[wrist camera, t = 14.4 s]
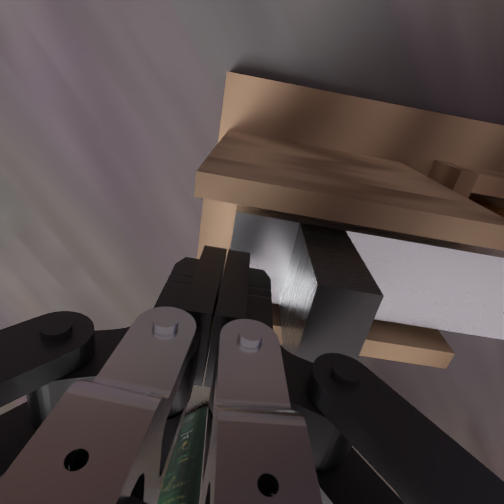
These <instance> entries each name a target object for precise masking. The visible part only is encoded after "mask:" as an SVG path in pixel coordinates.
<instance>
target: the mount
mask: <svg viewBox="0 0 504 504" xmlns="http://www.w3.org/2000/svg"><path fill="white" fill-rule="evenodd" d="M469 196H478V197H481V198H484V199H486V200H488V201H490V202H492V203H494V204H496V205H498V206H500V207H502V208H504V125H499V124H494V123H488V122H483V121H478V120H473V119H468V118H463V117H458V116H453V115H447V114H442V113H437V112H432V111H427V110H422V109H417V108H412V107H407V106H401V105H396V104H391V103H386V102H381V101H376V100H371V99H366V98H360V97H355V96H350V95H345V94H340V93H335V92H330V91H325V90H320V89H314V88H309V87H304V86H299V85H294V84H289V83H284V82H279V81H274V80H268V79H263V78H258V77H253V76H248V75H243V74H238V73H233V72H227V75H226V83H225V91H224V99H223V108H222V116H221V124H220V132H219V140H218V144H217V145H216V147H215V148H214V149H213V150H212V152H211V153H210V154H209V156H208V157H207V158H206V160H205V161H204V162H203V163H202V165H201V166H200V167H199V169H198V170H197V171H196V181H195V191H194V197H199V198H204V199H203V208H202V216H201V225H200V234H199V243H198V252H197V259H200V256H201V254H202V251H203V248H204V246H205V245H207V246H213V247H219V248H225V249H227V252H226V259H227V255H228V250H229V249H230V247H231V240H232V234H233V228H234V222H235V216H236V210H237V205H238V204H239V205H244V206H250V207H256V208H262V209H267V210H273V211H279V212H285V213H290V214H296V215H302V216H308V217H313V218H319V219H325V220H331V221H336V222H342V223H348V224H354V225H359V226H365V227H371V228H377V229H382V230H388V231H394V232H399V233H405V234H411V235H417V236H422V237H428V238H434V239H440V240H445V241H451V242H457V243H463V244H468V245H474V246H480V247H486V248H491V249H497V250H503V251H504V218H503V217H502V216H500V215H498V214H496V213H494V212H492V211H490V210H488V209H487V208H485V207H483V206H481V205H479V204H477V203H475V202H474V201H472V200H470V199H468V198H469ZM226 259H225V264H226ZM224 269H225V265H224ZM223 274H224V272H223ZM272 316H273V330H274V332H275V333H276V334H277V336H278V338H279V342H280V343H281V344H283V343H282V331H281V319H280V307H279V304H276V303H272ZM454 354H455V353H454V351H453V350H452V349H451V347H450V346H449V345H448V343H447V342H446V341H445V339H444V338H443V336H442V335H441V334H440V332H439V331H438V330H437V329H433V328H427V327H420V326H414V325H408V324H401V323H395V322H389V321H383V320H376V319H374V320H373V323H372V325H371V328H370V330H369V332H368V335H367V337H366V340H365V342H364V344H363V347H362V349H361V352H360V354H359V355H360V356H366V357H373V358H379V359H386V360H392V361H399V362H405V363H412V364H419V365H425V366H432V367H438V368H445V369H446V368H447V366H448V365H449V363H450V361H451V359H452V358H453V356H454Z"/></svg>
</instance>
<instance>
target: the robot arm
mask: <svg viewBox="0 0 504 504" xmlns="http://www.w3.org/2000/svg"><path fill="white" fill-rule="evenodd" d="M226 252H227V249H225V248H219V247H213V246H207V245H205V246H204V248H203V251H202V254H201V256H200V259H194V258H188V257H185V258H184V259H182V260H181V261H179V262H177V263H176V264H175V266H174V268H173V270H172V272H171V275H170V276H169V278H168V280H167V282H166V284H165V286H164V288H163V290H162V292H161V294H160V296H159V298H158V300H157V302H156V304H155V306H154V308H152V309H149V310H147V311H145V312H143V313H141V314H140V315H139V316H138V317H137V318H136V319H135V321H134V322H133V324H132V325H131V327H127V328H122V329H113V330H99V331H94V324H93V322H92V321H91V319H90V318H88V317H87V316H85V315H83V314H80V313H77V312H70V311H60V312H53V313H48V314H45V315H41V316H39V317H36V318H33V319H30V320H27V321H24V322H22V323H19V324H16V325H13V326H10V327H7V328H4V329H2V330H0V407H2V406H4V405H6V404H8V403H10V402H12V401H14V400H16V399H18V398H20V397H22V396H24V395H26V398H27V402H25V403H23V404H21V405H19V406H17V407H15V408H14V409H12V410H10V411H8V412H6V413H4V414H2V415H0V504H157V503H158V498H159V494H160V490H161V487H162V484H163V480H164V477H165V474H166V471H167V468H168V465H169V462H170V459H171V456H172V453H173V450H174V447H175V444H176V441H177V438H178V434H179V431H180V428H181V425H182V422H183V419H184V416H185V413H186V407H187V404H188V402H189V400H190V396H191V392H192V388H193V385H199V386H202V382H203V377H204V372H205V367H206V362H207V357H208V352H209V357H208V364H207V371H206V377H205V384H204V386H207V387H211V392H210V398H209V404H208V410H207V416H206V428H205V440H204V452H203V464H202V476H201V487H200V498H199V504H504V482H503V481H502V480H501V479H500V478H499V477H497V476H496V475H495V474H494V473H493V472H491V471H490V470H489V469H488V468H487V467H485V466H484V465H483V464H482V463H481V462H479V461H478V460H477V459H476V458H475V457H473V456H472V455H471V454H470V453H469V452H467V451H466V450H465V449H464V448H463V447H461V446H460V445H459V444H458V443H457V442H455V441H454V440H453V439H452V438H451V437H449V436H448V435H447V434H446V433H445V432H443V431H442V430H441V429H440V428H439V427H437V426H436V425H435V424H434V423H433V422H431V421H430V420H429V419H428V418H427V417H425V416H424V415H423V414H422V413H421V412H419V411H418V410H417V409H416V408H415V407H413V406H412V405H411V404H410V403H409V402H407V401H406V400H405V399H404V398H403V397H401V396H400V395H399V394H398V393H397V392H395V391H394V390H393V389H392V388H391V387H389V386H388V385H387V384H386V383H385V382H383V381H382V380H381V379H380V378H379V377H377V376H376V375H375V374H374V373H373V372H371V371H370V370H369V369H368V368H367V367H365V366H364V365H363V364H362V363H360V362H359V361H357V360H355V359H354V358H351V357H349V356H347V355H343V354H339V353H326V354H322V355H320V356H319V357H317V358H316V359H315V361H314V363H312V362H310V361H307V360H305V359H302V358H300V357H298V356H295V355H293V354H292V353H290V352H288V351H287V350H286V349H284V348H283V347H282V346H281V345H280V342H279V338H278V336H277V334H276V333H275V332H274V330H273V316H272V299H271V298H272V294H271V279H270V277H269V276H268V275H267V273H266V272H265V270H262V269H256V268H250V253H249V252H243V251H237V250H231V249H229V250H228V255H227V259H226ZM225 259H226V264H225ZM224 265H225V269H224ZM223 272H224V274H223ZM210 343H211V344H210ZM209 347H210V351H209ZM352 445H353V446H354V447H355V448H356V449H357V450H358V451H359V453H360V454H361V455H362V456H363V457H364V458H365V459H366V460H367V461H368V462H369V463H370V464H371V465H372V466H373V467H374V468H375V470H376V471H377V472H378V473H379V474H380V475H381V476H382V477H383V478H384V479H385V480H386V481H387V482H388V483H389V484H390V485H391V487H392V488H393V489H394V490H395V491H396V492H397V494H398V495H399V497H400V498H401V499H400V498H399V497H398V496H397V495H396V494H395V493H394V492H393V491H392V490H391V489H390V488H389V487H388V485H387V484H386V483H385V482H384V481H383V480H382V479H381V478H380V477H379V476H378V475H377V474H376V473H375V472H374V470H373V469H372V468H371V467H370V466H369V465H368V464H367V463H366V462H365V461H364V460H363V459H362V458H361V457H360V456H359V454H358V453H357V452H356V451H355V450H354V449H353V448H352Z"/></svg>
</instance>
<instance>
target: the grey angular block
mask: <svg viewBox="0 0 504 504" xmlns="http://www.w3.org/2000/svg"><path fill="white" fill-rule="evenodd" d="M230 249H231V250H237V251H243V252H249V253H250V268H256V269H262V270H265V272H266V273H267V275H268V276H269V277H270V279H271V294H272V298H271V299H272V303H276V304H279V307H280V319H281V331H282V343H283V348H284V349H286V350H287V351H288V352H290V353H292V354H293V355H295V356H298V357H300V358H302V359H305V360H307V361H310V362H312V363H314V361H315V359H316V358H317V357H319V356H320V355H322V354H326V353H339V354H343V355H347V356H349V357H351V358H354V359H355V360H357V359H358V356H359V354H360V352H361V349H362V347H363V344H364V342H365V340H366V337H367V335H368V332H369V330H370V328H371V325H372V323H373V320H374V319H376V320H383V321H389V322H395V323H401V324H408V325H414V326H420V327H427V328H433V329H439V330H445V331H452V332H458V333H464V334H471V335H477V336H483V337H489V338H496V339H502V340H504V251H503V250H497V249H491V248H486V247H480V246H474V245H468V244H463V243H457V242H451V241H445V240H440V239H434V238H428V237H422V236H417V235H411V234H405V233H399V232H394V231H388V230H382V229H377V228H371V227H365V226H359V225H354V224H348V223H342V222H336V221H331V220H325V219H319V218H313V217H308V216H302V215H296V214H290V213H285V212H279V211H273V210H267V209H262V208H256V207H250V206H244V205H239V204H238V205H237V210H236V216H235V222H234V228H233V234H232V240H231V247H230Z"/></svg>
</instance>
